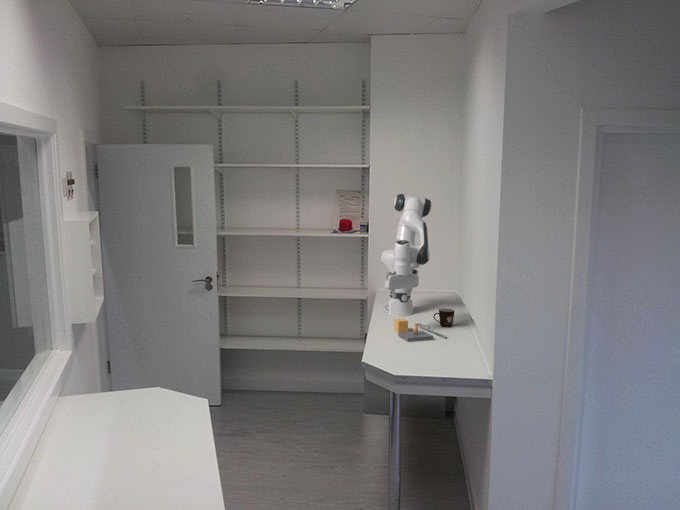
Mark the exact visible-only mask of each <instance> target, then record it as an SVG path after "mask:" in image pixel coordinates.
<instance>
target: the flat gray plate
mask: <svg viewBox="0 0 680 510" xmlns="http://www.w3.org/2000/svg"><path fill="white" fill-rule="evenodd" d="M412 327H413V328H412V329H413V330H412V331H408V332H397V336H398V338H400V339H402V340H404V341H405V342H408V343H411V342H421V341H422V342H423V341H434V335H433V334H431V333H428V332H426V331H424V330H419V325H415V324H413V326H412Z"/></svg>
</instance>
